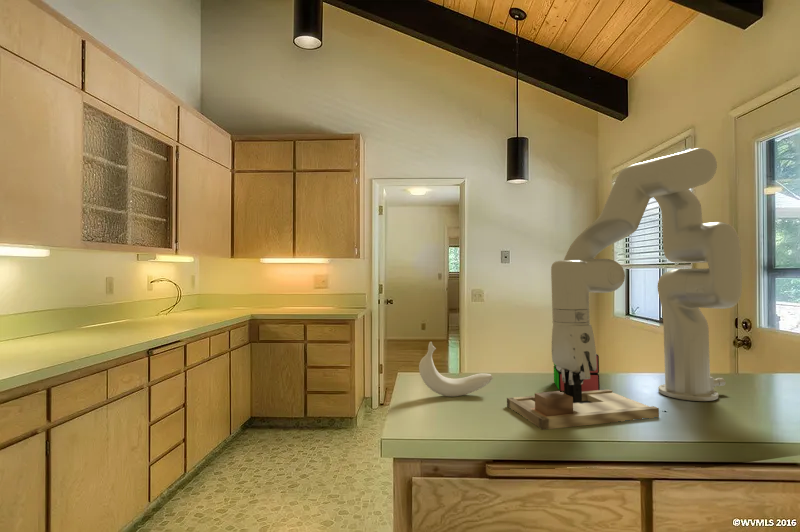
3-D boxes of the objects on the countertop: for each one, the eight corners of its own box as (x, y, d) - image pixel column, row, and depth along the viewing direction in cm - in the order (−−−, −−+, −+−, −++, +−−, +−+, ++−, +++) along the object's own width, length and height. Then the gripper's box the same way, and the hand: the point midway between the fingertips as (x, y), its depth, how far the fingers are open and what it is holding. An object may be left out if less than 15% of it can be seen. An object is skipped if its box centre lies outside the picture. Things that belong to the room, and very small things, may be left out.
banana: (494, 396, 112) (492, 338, 112) (422, 401, 108) (420, 342, 108) (487, 391, 116) (485, 336, 117) (417, 396, 113) (416, 339, 113)
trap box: (608, 397, 109) (608, 389, 109) (659, 417, 93) (658, 408, 93) (507, 406, 103) (506, 398, 103) (542, 429, 87) (542, 419, 87)
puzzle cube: (600, 393, 113) (599, 354, 113) (559, 392, 115) (558, 353, 115) (591, 383, 122) (590, 348, 123) (553, 382, 124) (552, 347, 125)
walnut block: (559, 406, 97) (559, 390, 97) (573, 413, 92) (572, 397, 92) (535, 409, 95) (534, 393, 95) (547, 416, 90) (547, 399, 91)
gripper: (609, 319, 88) (612, 410, 88) (566, 313, 103) (568, 391, 102) (576, 321, 87) (578, 414, 86) (537, 314, 101) (539, 394, 101)
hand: (573, 401), depth 94 cm, fingers closed
